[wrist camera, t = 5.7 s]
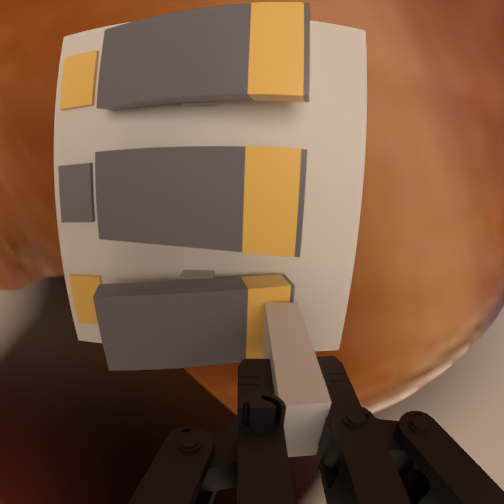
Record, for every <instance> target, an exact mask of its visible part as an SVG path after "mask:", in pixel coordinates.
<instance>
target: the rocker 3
mask: <svg viewBox="0 0 504 504" xmlns="http://www.w3.org/2000/svg"><path fill="white" fill-rule="evenodd" d="M294 291H295V285H294V284H293V283H292V282H291V281H290V280H289V278H288V277H287V276H286V275H285V274H274V275H259V276H243V277H236V278H219V279H201V280H183V281H163V282H141V283H116V284H99V285H98V287H97V289H96V292H95V294H94V296H93V300H94V306H95V311H96V316H97V321H98V326H99V330H100V335H101V339H102V344H103V348H104V352H105V356H106V360H107V364H108V367H109V371H110V370H111V371H113V370H114V371H119V370H153V369H171V368H188V367H200V366H212V365H222V364H231V363H240V362H242V360H243V359H263V356H262V344H263V327H264V310H265V302H293V301H294Z"/></svg>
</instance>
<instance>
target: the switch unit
mask: <svg viewBox="0 0 504 504" xmlns="http://www.w3.org/2000/svg"><path fill="white" fill-rule="evenodd" d="M128 23H130V22H128ZM122 24H126V23H122ZM122 24H117V25H111V26H106V27H101V28H97V29H92V30H88V31H84V32H80V33H76V34H72V35H69V36H65V37H64V39H63V45H62V51H61V58H60V65H59V73H58V82H57V92H56V105H55V122H54V183H55V201H56V214H57V224H58V234H59V242H60V250H61V257H62V264H63V270H64V276H65V281H66V287H67V292H68V297H69V302H70V307H71V311H72V316H73V320H74V324H75V328H76V332H77V336H78V340H81V341H89V342H96V343H102V339H101V335H100V330H99V326H98V321H97V316H96V311H95V306H94V300H93V296H94V294H95V292H96V289H97V287H98V285H99V284H116V283H141V282H163V281H183V280H201V279H219V278H236V277H243V276H259V275H274V274H285V275H286V276H287V277H288V278H289V280H290V281H291V282H292V283H293V284H294V285H295V291H294V301H293V302H297V303H298V306H299V309H300V311H301V314H302V317H303V320H304V323H305V326H306V328H307V331H308V334H309V337H310V340H311V343H312V346H313V349H314V351H331V350H339V346H340V342H341V337H342V332H343V327H344V321H345V316H346V310H347V305H348V299H349V293H350V287H351V281H352V274H353V268H354V261H355V253H356V246H357V238H358V229H359V221H360V211H361V201H362V190H363V177H364V163H365V145H366V119H367V58H366V33H365V30H360V29H356V28H351V27H346V26H341V25H335V24H330V23H324V22H317V21H310V91H309V102H283V101H254V100H236V101H206V102H189V103H176V104H164V105H155V106H146V107H138V108H130V109H123V110H116V111H111V110H104V109H97V108H96V107H97V92H98V80H99V70H100V61H101V53H102V46H103V39H104V32H105V30H106V29H109V28H112V27H115V26H119V25H122ZM185 146H245V147H246V146H263V147H285V148H301V149H307V169H306V186H305V202H304V217H303V230H302V243H301V252H300V257H294V258H293V257H282V256H271V255H260V254H249V253H242V252H234V251H223V250H212V249H201V248H190V247H180V246H169V245H158V244H147V243H136V242H125V241H114V240H104V239H99V233H98V220H97V205H96V182H95V152H100V151H111V150H123V149H138V148H156V147H185Z"/></svg>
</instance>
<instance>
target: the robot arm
mask: <svg viewBox="0 0 504 504" xmlns="http://www.w3.org/2000/svg"><path fill="white" fill-rule="evenodd" d="M262 356H263V359H243V360H242V362H241V363H240V365H239V366H238V414H237V418H236V420H235V422H234V423H233V424H232V425H231V426H229V427H228V428H226V429H224V430H221V431H217V432H212V433H208V432H206V431H205V430H203V429H201V428H199V427H194V426H185V427H179V428H177V429H175V430H173V431H172V432H171V433H170V434H169V435H168V436H167V438H166V440H165V441H164V443H163V445H162V447H161V448H160V450H159V452H158V454H157V455H156V457H155V459H154V461H153V462H152V464H151V465H150V467H149V469H148V471H147V472H146V474H145V476H144V478H143V480H142V481H141V483H140V484H139V486H138V488H137V489H136V491H135V493H134V495H133V496H132V498H131V500H130V501H129V503H128V504H212V502H213V499H214V496H215V494H216V491H217V490H222V489H226V488H230V487H234V486H237V496H238V497H237V501H238V502H237V503H238V504H295V501H294V494H293V487H292V480H291V473H290V466H289V460H288V457H295V456H308V455H316V454H317V450H318V447H319V449H320V453H321V458H320V461H319V464H318V467H317V470H316V472H315V478H318V477H319V474H321V479H322V483H323V488H324V493H325V497H326V502H327V504H504V491H503V490H502V489H501V488H500V487H499V486H498V485H497V484H496V483H495V482H494V481H493V480H492V479H491V478H490V477H489V476H488V475H487V474H486V473H485V471H484V470H483V469H482V468H481V467H480V466H479V465H478V464H477V463H476V462H475V461H474V460H473V459H472V458H471V457H470V456H469V455H468V454H467V453H466V452H465V451H464V450H463V449H462V448H461V447H460V446H459V445H458V444H457V443H456V442H455V441H454V439H453V438H452V437H451V436H450V435H449V434H448V433H447V432H446V431H445V430H444V429H443V428H442V427H441V426H440V425H439V424H438V423H437V422H436V421H435V420H434V419H433V418H432V417H431V416H429V415H428V414H426V413H423V412H421V411H411V412H407V413H405V414H404V415H403V416H401V418H400V420H399V421H390V420H381V419H377V418H375V417H374V416H373V414H372V413H371V412H370V411H369V410H367V409H365V408H363V407H361V405H360V403H359V401H358V398H357V396H356V394H355V391H354V389H353V387H352V384H351V382H350V381H349V378H348V375H347V374H346V371H345V368H344V366H343V364H342V363H341V362H340V361H339V360H338V359H337V358H336V357H334V356H325V357H316V354H315V352H314V349H313V346H312V343H311V340H310V337H309V334H308V331H307V328H306V326H305V323H304V320H303V317H302V314H301V311H300V309H299V306H298V303H297V302H265V310H264V327H263V344H262Z"/></svg>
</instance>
